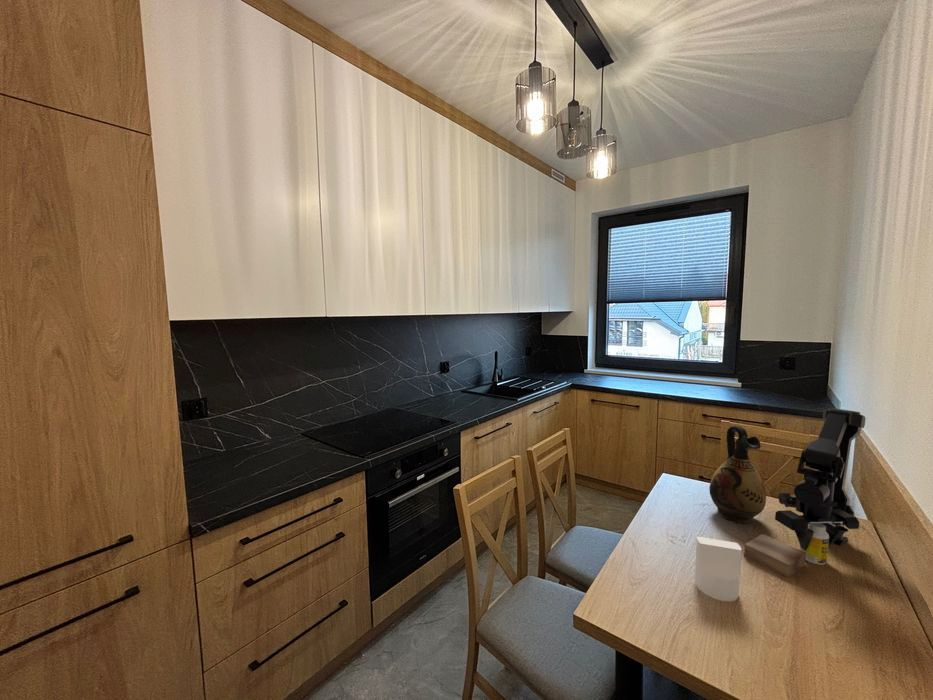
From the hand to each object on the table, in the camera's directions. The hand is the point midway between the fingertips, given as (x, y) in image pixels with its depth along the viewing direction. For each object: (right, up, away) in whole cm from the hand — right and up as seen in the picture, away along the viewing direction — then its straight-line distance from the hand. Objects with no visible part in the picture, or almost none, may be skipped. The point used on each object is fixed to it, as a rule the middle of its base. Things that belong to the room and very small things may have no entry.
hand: (813, 548), depth 103 cm
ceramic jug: (-5, -1, +24) cm, 24 cm away
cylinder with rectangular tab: (-34, -5, -11) cm, 36 cm away
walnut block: (-11, -4, 0) cm, 12 cm away
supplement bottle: (0, -3, 0) cm, 3 cm away
